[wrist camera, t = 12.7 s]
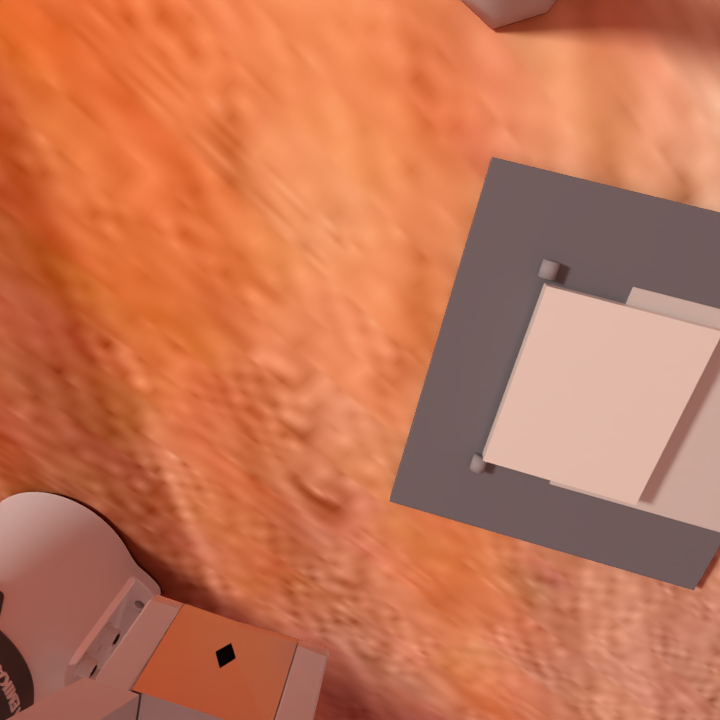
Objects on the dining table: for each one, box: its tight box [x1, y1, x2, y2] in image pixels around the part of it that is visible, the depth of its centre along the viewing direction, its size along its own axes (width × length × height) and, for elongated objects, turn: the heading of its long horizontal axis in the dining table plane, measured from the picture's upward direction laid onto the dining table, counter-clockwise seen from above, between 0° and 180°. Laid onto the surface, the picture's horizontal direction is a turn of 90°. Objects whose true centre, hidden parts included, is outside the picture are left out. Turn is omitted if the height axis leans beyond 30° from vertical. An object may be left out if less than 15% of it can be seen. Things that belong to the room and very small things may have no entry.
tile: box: [482, 283, 720, 505], centre depth 33 cm, size 12×1×10 cm
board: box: [390, 157, 720, 590], centre depth 34 cm, size 24×22×2 cm
